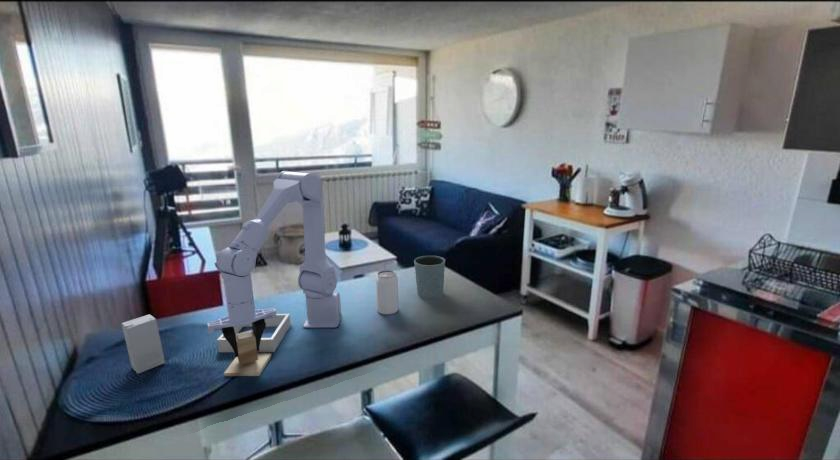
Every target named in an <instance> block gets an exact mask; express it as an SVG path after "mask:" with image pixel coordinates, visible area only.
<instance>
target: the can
mask: <svg viewBox="0 0 840 460" xmlns="http://www.w3.org/2000/svg"><path fill="white" fill-rule="evenodd" d="M375 279H376V280H375V282H376V283H375V287H376V288H375V289H376V309H377V312H378V313H379V314H380V315H386V316H387V315H388V316H389V315H394V314H396V313H397V312H398V310H399V278H398V276H397V272H396V271H394V270H390V269H389V270H388V269H387V270H381V271H379V272H377V276H376V278H375Z"/></svg>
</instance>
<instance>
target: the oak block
mask: <svg viewBox="0 0 840 460" xmlns="http://www.w3.org/2000/svg"><path fill="white" fill-rule="evenodd" d="M236 344H237V349H238V356H239V357H238V360H239V363H240V365H242V364H245V363H249V362H252V361H256V360H258V355H257V354H258V352H257V347H256V339H255V335H254V333H253V329H250V330H246V331H242V332H241V331H240V332H238V333H237V334H236Z"/></svg>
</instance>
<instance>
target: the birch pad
mask: <svg viewBox="0 0 840 460" xmlns="http://www.w3.org/2000/svg"><path fill="white" fill-rule="evenodd" d="M257 355H258V360H256V361H252V362H249V363H245V364H242V365H240V363H239V360H238V357H235V358H234V359H233V360H232V362H230V364H229V366H227V368H226V370H225V371H224V372H223V375H224V377H259V376H260V375H261V374H262V373H263V371H264V369H265V367H266V366H267V365H268V362H269V361H270V359H271V357H272V353H257Z"/></svg>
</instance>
